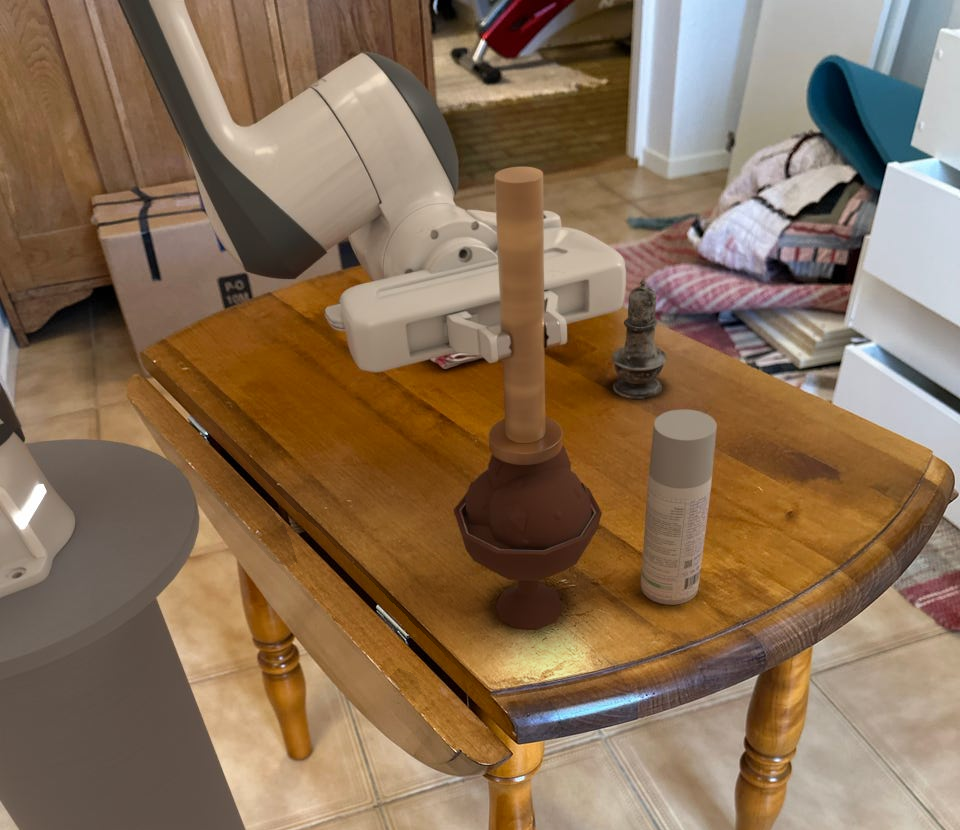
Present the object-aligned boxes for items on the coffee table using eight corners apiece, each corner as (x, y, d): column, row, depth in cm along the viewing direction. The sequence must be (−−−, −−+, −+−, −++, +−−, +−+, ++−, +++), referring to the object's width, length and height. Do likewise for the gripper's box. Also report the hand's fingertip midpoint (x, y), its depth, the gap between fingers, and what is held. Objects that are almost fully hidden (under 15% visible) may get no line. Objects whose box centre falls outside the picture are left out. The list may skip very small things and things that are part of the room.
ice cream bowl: (439, 596, 77) (421, 437, 67) (551, 552, 81) (551, 394, 71) (503, 671, 70) (494, 505, 60) (623, 618, 74) (634, 454, 64)
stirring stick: (527, 474, 63) (519, 196, 51) (474, 447, 66) (454, 177, 53) (577, 443, 65) (583, 170, 53) (524, 418, 68) (517, 153, 56)
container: (687, 565, 78) (705, 404, 68) (706, 600, 75) (728, 435, 65) (633, 574, 78) (644, 413, 68) (650, 609, 75) (663, 445, 64)
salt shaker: (650, 371, 105) (657, 264, 97) (673, 393, 101) (683, 283, 92) (602, 381, 104) (605, 273, 96) (623, 404, 99) (628, 294, 91)
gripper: (308, 263, 65) (367, 332, 55) (571, 205, 70) (669, 258, 60) (326, 349, 69) (383, 428, 59) (572, 289, 74) (664, 352, 64)
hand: (529, 342), depth 59 cm, fingers closed on stirring stick, 2 cm apart
